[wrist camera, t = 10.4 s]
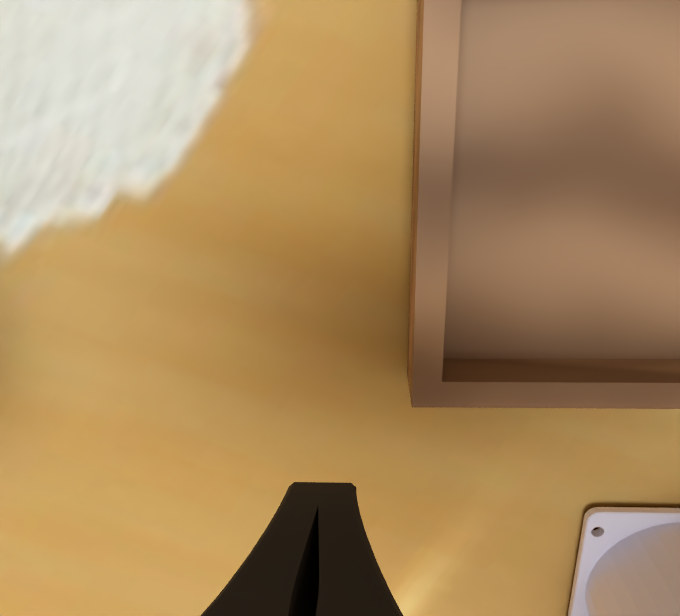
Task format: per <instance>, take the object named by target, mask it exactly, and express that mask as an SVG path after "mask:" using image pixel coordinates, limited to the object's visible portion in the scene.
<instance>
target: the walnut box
mask: <svg viewBox="0 0 680 616" xmlns="http://www.w3.org/2000/svg"><path fill="white" fill-rule="evenodd" d="M407 375H408V382H409V390H410V397H411V404H412V407H470V408H637V409H680V0H417V35H416V73H415V110H414V148H413V186H412V223H411V261H410V299H409V336H408V374H407Z"/></svg>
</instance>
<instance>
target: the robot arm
mask: <svg viewBox="0 0 680 616" xmlns="http://www.w3.org/2000/svg"><path fill="white" fill-rule="evenodd" d="M595 527H600V528H599V529H597V530H592V529H594V528H595ZM201 616H403V614H402V613H401V611H400V609H399V607H398V605H397V603H396V601H395V599H394V598H393V596H392V594H391V592H390V590H389V587H388V585H387V583H386V581H385V579H384V577H383V575H382V573H381V570H380V568H379V566H378V563H377V561H376V559H375V556H374V553H373V551H372V548H371V546H370V543H369V541H368V538H367V535H366V532H365V529H364V526H363V522H362V519H361V516H360V512H359V507H358V502H357V496H356V487H355V486H354V485H353V484H352V483H316V482H294V483H293V484H292V485H290V486H289V488H288V490H287V492H286V494H285V496H284V498H283V500H282V502H281V504H280V506H279V508H278V510H277V511H276V513H275V515H274V517H273V518H272V520H271V522H270V523H269V525H268V527H267V528H266V530H265V531H264V533H263V534H262V536H261V537H260V539H259V541H258V542H257V544H256V545H255V547H254V548H253V550H252V551H251V553H250V554H249V556H248V557H247V558H246V560H245V561H244V562H243V564H242V565H241V566H240V568H239V569H238V570H237V572H236V573H235V574H234V576H233V577H232V579H231V580H230V581H229V583H228V584H227V585H226V586H225V588H224V589H223V590H222V591H221V593H220V594H219V595H218V596H217V597H216V599H215V600H214V601H213V602H212V603H211V605H210V606H209V607H208V608H207V609H206V610H205V611H204V612H203V614H202V615H201ZM568 616H680V508H641V507H594V508H591V509H589V510H588V511H587V512H586V513H585V516H584V521H583V527H582V533H581V539H580V545H579V551H578V557H577V563H576V569H575V575H574V581H573V587H572V593H571V599H570V605H569V611H568Z"/></svg>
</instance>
